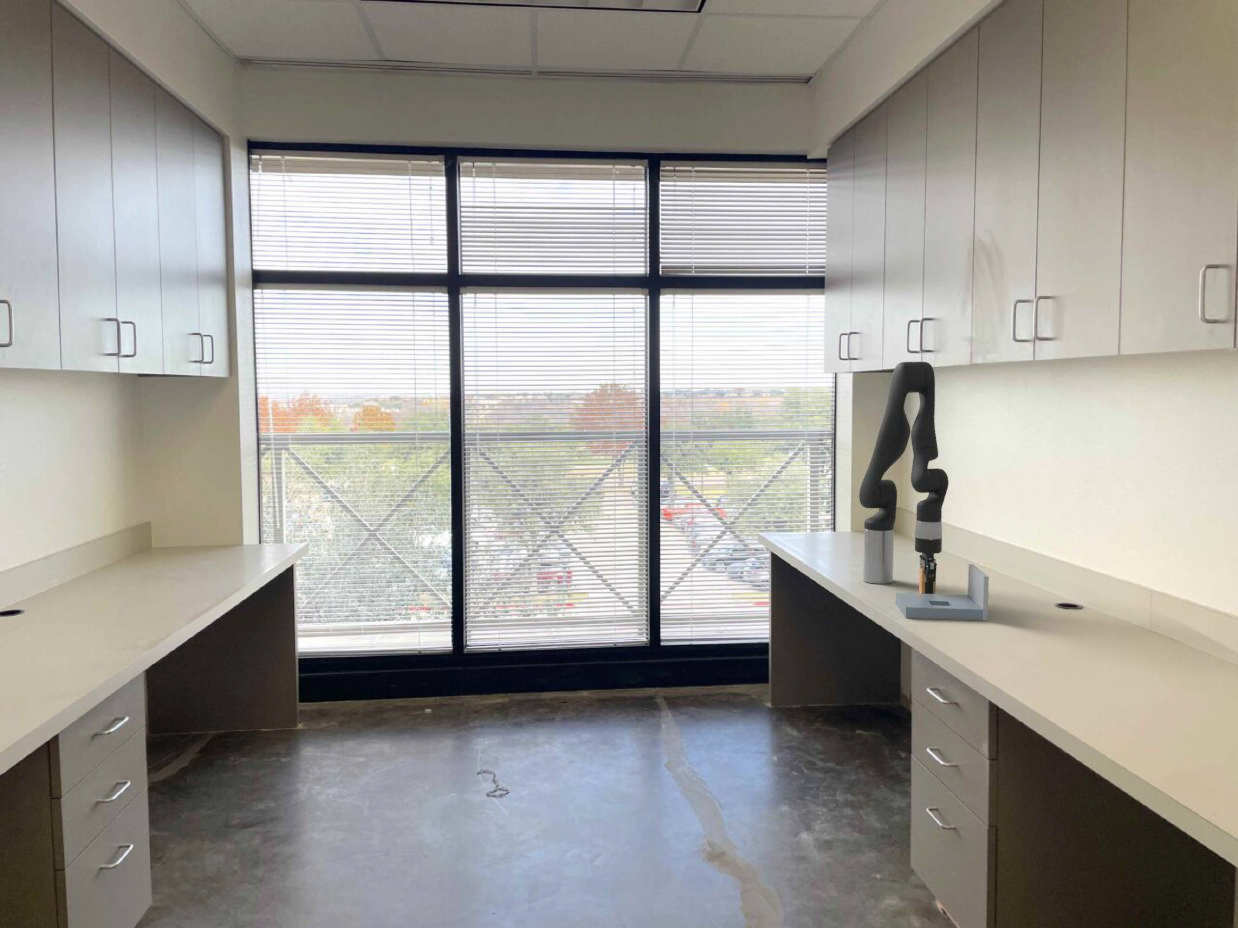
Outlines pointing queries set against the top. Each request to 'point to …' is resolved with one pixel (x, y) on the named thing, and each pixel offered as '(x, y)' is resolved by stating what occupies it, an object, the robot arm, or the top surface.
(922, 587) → the block
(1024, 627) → the top surface
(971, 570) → the grey slotted stand
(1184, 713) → the top surface
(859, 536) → the top surface
